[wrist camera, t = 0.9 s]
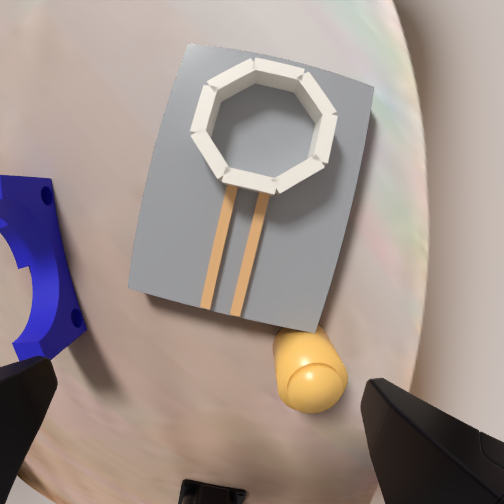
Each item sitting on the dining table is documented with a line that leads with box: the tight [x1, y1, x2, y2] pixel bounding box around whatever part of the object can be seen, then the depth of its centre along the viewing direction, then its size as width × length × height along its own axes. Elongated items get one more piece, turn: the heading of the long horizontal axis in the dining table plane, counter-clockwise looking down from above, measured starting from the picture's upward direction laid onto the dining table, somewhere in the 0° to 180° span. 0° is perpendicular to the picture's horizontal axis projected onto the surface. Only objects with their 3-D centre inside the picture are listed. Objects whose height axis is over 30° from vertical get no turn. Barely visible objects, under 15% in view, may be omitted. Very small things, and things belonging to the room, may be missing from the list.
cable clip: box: [0, 175, 87, 361], centre depth 17 cm, size 12×4×6 cm, turn 11°
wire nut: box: [273, 325, 348, 414], centre depth 17 cm, size 4×4×6 cm
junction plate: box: [128, 44, 374, 333], centre depth 17 cm, size 16×12×4 cm
